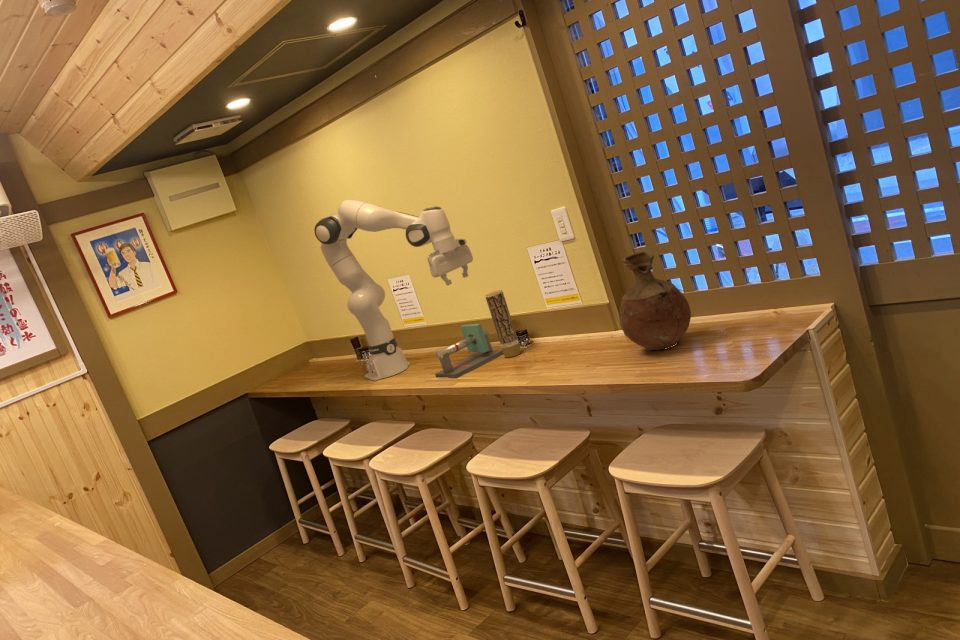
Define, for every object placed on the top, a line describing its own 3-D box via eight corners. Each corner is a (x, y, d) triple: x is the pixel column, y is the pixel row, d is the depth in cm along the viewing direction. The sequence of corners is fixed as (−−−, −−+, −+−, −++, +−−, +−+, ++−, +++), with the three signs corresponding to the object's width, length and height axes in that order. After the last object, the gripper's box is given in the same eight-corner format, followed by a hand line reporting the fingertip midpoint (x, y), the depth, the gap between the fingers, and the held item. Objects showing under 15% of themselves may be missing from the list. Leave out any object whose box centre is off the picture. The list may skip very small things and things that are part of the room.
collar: (468, 352, 287) (460, 326, 285) (472, 350, 288) (464, 324, 286) (485, 352, 278) (476, 325, 276) (489, 350, 280) (480, 323, 278)
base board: (436, 377, 279) (434, 373, 279) (482, 354, 293) (481, 350, 293) (456, 378, 268) (455, 374, 268) (503, 354, 282) (502, 350, 282)
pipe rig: (442, 374, 275) (434, 351, 274) (488, 350, 289) (481, 329, 287) (447, 374, 272) (440, 351, 270) (494, 350, 286) (487, 328, 284)
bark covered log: (520, 355, 272) (500, 292, 267) (503, 359, 273) (483, 297, 269) (522, 350, 278) (503, 288, 274) (506, 354, 280) (486, 293, 275)
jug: (648, 363, 214) (620, 267, 208) (617, 353, 235) (591, 265, 229) (711, 339, 218) (686, 243, 213) (675, 330, 239) (652, 243, 233)
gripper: (431, 253, 270) (444, 288, 272) (468, 238, 283) (480, 271, 286) (421, 256, 275) (433, 290, 277) (458, 241, 288) (470, 273, 290)
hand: (457, 280), depth 282 cm, fingers open, 8 cm apart
